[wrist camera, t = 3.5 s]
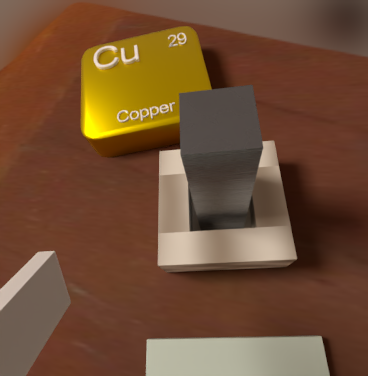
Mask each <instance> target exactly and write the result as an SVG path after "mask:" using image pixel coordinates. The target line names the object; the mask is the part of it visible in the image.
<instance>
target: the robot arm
mask: <svg viewBox="0 0 368 376" xmlns="http://www.w3.org/2000/svg"><path fill="white" fill-rule="evenodd" d="M70 303H71V301H70V297H69V294H68V291H67V288H66V285H65V282H64V278H63V275H62V272H61V269H60V266H59V262H58V259H57V256H56V253H55V251H48V252H38V253H37V254H36V255H35V256H34V257H33V258H32V259H31V260H30V261H29V262H28V263H27V264H26V265H25V266H24V267H23V268H22V269H21V270H20V271H19V272H18V273H17V274H16V275H15V276H14V277H13V278H12V279H10V280H9V281H8V282H7V283H6V284H5V285H4V286H3V287H2V288H1V289H0V376H26V374H27V373H28V371H29V369H30V368H31V366H32V365H33V363H34V361H35V360H36V358H37V356H38V355H39V353H40V352H41V350H42V348H43V347H44V345H45V344H46V342H47V340H48V339H49V337H50V335H51V334H52V332H53V331H54V329H55V327H56V326H57V324H58V323H59V321H60V319H61V318H62V316H63V314H64V313H65V311H66V310H67V308H68V306H69V305H70Z"/></svg>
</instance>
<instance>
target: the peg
mask: <svg viewBox="0 0 368 376" xmlns="http://www.w3.org/2000/svg"><path fill="white" fill-rule="evenodd" d="M179 112H180V155H181V159H182V162H183V166H184V170H185V174H186V177H187V181H188V185H189V189H190V192H191V196H192V200H193V203H194V207H195V211H196V215H197V218H198V222H199V226H200V229H201V231H208V230H224V229H241V228H244V224H245V220H246V216H247V212H248V208H249V204H250V200H251V196H252V192H253V188H254V183H255V179H256V175H257V171H258V167H259V163H260V159H261V155H262V151H263V143H262V137H261V131H260V126H259V120H258V114H257V108H256V103H255V97H254V91H253V85H247V86H238V87H229V88H221V89H212V90H203V91H195V92H186V93H179Z"/></svg>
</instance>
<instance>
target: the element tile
mask: <svg viewBox="0 0 368 376" xmlns="http://www.w3.org/2000/svg"><path fill="white" fill-rule="evenodd" d="M203 90H212V88H211V84H210V80H209V77H208V73H207V69H206V65H205V62H204V58H203V54H202V51H201V47H200V43H199V40H198V36H197V33H196V32H195V31H194V30H193V29H192V28H190V27H186V26H185V27H176V28H172V29H168V30H163V31H159V32H155V33H150V34H146V35H141V36H137V37H133V38H128V39H124V40H120V41H115V42H111V43H107V44H102V45H98V46H95V47H92V48H90V49H88V50H86V52H85V53H84V55H83V57H82V64H81V131H82V133H83V135H84V137H85V138H86V139H87V141H88V142H89V143H90V145H91V146H92V147H93V148H94V150H95V151H96V152H97V153H98V154H99V155H100V156H102V157H116V156H120V155H125V154H130V153H135V152H140V151H145V150H149V149H154V148H159V147H164V146H169V145H174V144H178V143H180V112H179V93H186V92H195V91H203Z"/></svg>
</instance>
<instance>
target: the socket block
mask: <svg viewBox="0 0 368 376" xmlns="http://www.w3.org/2000/svg"><path fill="white" fill-rule="evenodd" d="M262 143H263V151H262V155H261V159H260V163H259V167H258V171H257V175H256V179H255V183H254V188H253V192H252V196H251V200H250V204H249V208H248V212H247V216H246V220H245V224H244V228H241V229H224V230H208V231H201V229H200V226H199V222H198V218H197V215H196V211H195V207H194V203H193V200H192V196H191V192H190V189H189V185H188V181H187V177H186V174H185V170H184V166H183V162H182V159H181V155H180V149H179V150H168V151H160V156H159V222H158V266H159V267H160V268H162V269H163V270H164V271H166V272H185V271H207V270H230V269H253V268H275V267H287V266H288V265H290V264H291V263H293V262H294V261H295V260H297V256H296V251H295V246H294V241H293V235H292V230H291V225H290V220H289V215H288V210H287V205H286V200H285V195H284V189H283V184H282V179H281V174H280V169H279V164H278V159H277V154H276V149H275V144H274V141H265V142H262Z"/></svg>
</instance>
